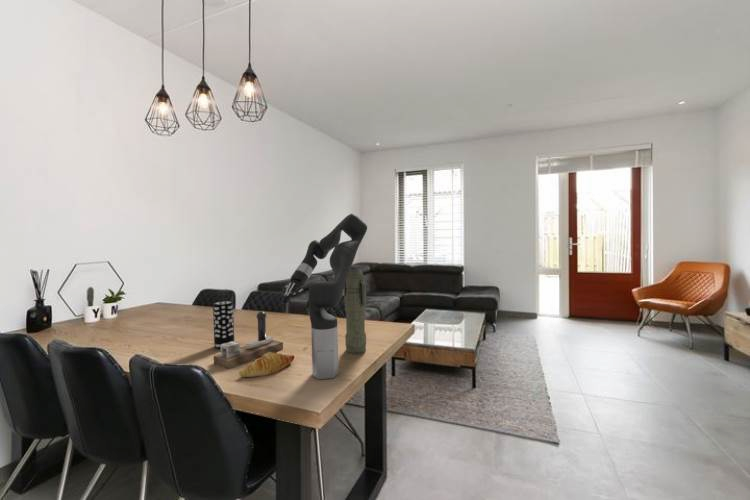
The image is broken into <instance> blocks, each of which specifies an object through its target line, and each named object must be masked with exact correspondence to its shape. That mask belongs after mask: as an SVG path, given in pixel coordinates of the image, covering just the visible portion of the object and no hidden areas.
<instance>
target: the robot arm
mask: <svg viewBox="0 0 750 500" xmlns="http://www.w3.org/2000/svg"><path fill="white" fill-rule="evenodd" d="M367 230H368V225H367V224H366V222H364V221H363V219H361V218H360V217H359V216H358V215H356V214H355V213H349V214H348V215H346V216H345V217H344V218H343V219H342V220H341V221H340V222H339V223H338V224H337V225H336V226H335V227H334V228H333V229H332V230H331V231H330V232H329V233H328V234H327V235H325V236H324V237H322V238H321V239H320V240H316V239H315V240H312V241H310V242H309V244H308V246H307V249H306V250H307V251H306V254H305V255H304V258H303V260H302V261H301V262H300V264H299V265H298V266H297V267H296V268H295V270H294V272H293V273H292V275H291V276H290V281H289V282H288V283H287V285H285V284H284V285H282V288H281V289H282V295H283V297H282V299H281V301H280V303H281V304H282V305H285V306H286V305H287V304H288V302H289V301H290V299H292V298H293V299H294V298H296V297H298V295H300V294H301V293H303V292H304V288H303V287H304V286H305V285H306V284H307V282H308V280H309V278H311V275H312V274H313V271H314V270H315V269H316V267H317V265H318V260H317V259H319V260H324V259H325V258H326V257H327V255H328V254H329V253H330V251H332V252H331V254H330V255H329V256H330V257H329V265H330V267H331V270H332V272H333V274H334V278H333V279H332V280H331V281H326V280H320V281H319V280H316V281H315V280H314V281H313V282H311V283H310V285H309V288H308V307H309V320H310V328H311V329H310V331H311V370H312V371H311V372H312V377H314V378H315V379H316V380H326V379H335V378H336V376H338V374H339V347H338V346H339V343H338V342H339V341H338V339H339V338H338V336H339V334H338V332H339V331H338V318H337V317H336V316H334V315H333V314H330V313H329V312H327V311H326V310H325V309H324V308H336V307H338V306H339V304H340V303H341V299H342V297H343V294H344V286H345V282H346V279H347V276H348V273H349V271H350V269H352V266H353V264H354V260H355V258H356V256H357V252H358V250H359V247H360V245H361V243H362V241H363V239H364V237H365V235H366V233H367ZM342 231H343V232H344V234H346V235H347V236H348V237H349V238H350V240H346V241H343V242H341V236H342Z"/></svg>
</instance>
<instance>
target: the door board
mask: <svg viewBox="0 0 750 500" xmlns="http://www.w3.org/2000/svg"><path fill="white" fill-rule="evenodd" d="M273 340H274V341H273V342H270V343H267V344H264V345H261V346H258V347H255V348H252V349H247V348H246V345H243V346H241V347H240V343H239V342H235V341H234V342H233V341H231V342H228V343H224V344H221V345H220V347H221V349H220V353H219V354H215V355H213V364H214V365H217V366H220V367H223V368H225V369H232V368H234V367H238V366H240V365H243V364H245V363H248V362H251V361H255V360H256V359H258V358H261V356H262V355H264V354H265V353H268V352H275V353H277V352H278V351H281V350H283V349H284V342H283V341H280V340H275V339H273Z"/></svg>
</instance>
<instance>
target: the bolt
mask: <svg viewBox="0 0 750 500" xmlns="http://www.w3.org/2000/svg"><path fill="white" fill-rule="evenodd" d="M266 318H267V314H266V312H265V311H263V310H262V311H259V312H257V313H256V319H257V338H258V339H256V340H253V341H250V342H246V344H245V346H246V348H247V349H252V348H255V347H258V346H261V345H264V344H267V343H270V342H273V341H274V340H275V339H274V336H271V335H269V336H267V328H266V327H267V323H266Z"/></svg>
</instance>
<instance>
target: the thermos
mask: <svg viewBox="0 0 750 500" xmlns="http://www.w3.org/2000/svg"><path fill="white" fill-rule="evenodd" d="M343 301H344V311H345V319H346V321H345V322H346V324H345V325H346V328H345V329H346V332H345V335H344V336H345V339H344V340H345V351H346V353H347V354H350V355H359V354H360V355H361V354H363V353H366V351H367V348H366V347H367V333H366V331H365V330H366V329H365V328H366V327H365V326H366V323H365V319H366V318H365V312H366V305H367V302H368V301H367V283H366V281H365V280H364V274H363V271H362V270H361V269H360V268H353V269H352V268H350V271H349V273H348V276H347V279H346V282H345V286H344V290H343Z"/></svg>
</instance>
